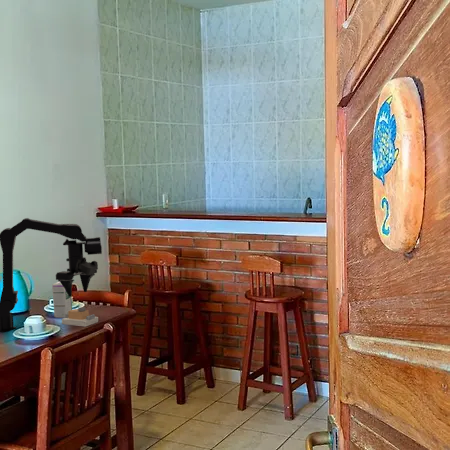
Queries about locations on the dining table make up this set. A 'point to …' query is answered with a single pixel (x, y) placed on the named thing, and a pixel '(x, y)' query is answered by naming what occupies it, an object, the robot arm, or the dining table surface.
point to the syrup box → (61, 300)
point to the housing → (78, 313)
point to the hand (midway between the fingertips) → (77, 294)
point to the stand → (85, 322)
